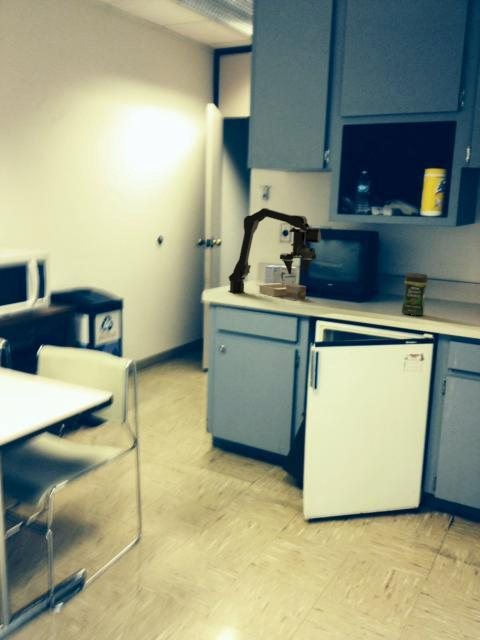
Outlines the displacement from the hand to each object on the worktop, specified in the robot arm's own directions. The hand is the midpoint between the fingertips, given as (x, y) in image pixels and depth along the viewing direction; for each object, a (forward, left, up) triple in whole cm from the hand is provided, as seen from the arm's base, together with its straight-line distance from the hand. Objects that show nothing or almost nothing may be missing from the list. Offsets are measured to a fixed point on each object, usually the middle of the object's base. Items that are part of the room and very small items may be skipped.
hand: (297, 273), depth 305 cm
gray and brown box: (0, 0, -12) cm, 12 cm away
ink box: (+19, +30, -13) cm, 38 cm away
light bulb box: (+20, +43, -13) cm, 49 cm away
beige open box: (+1, +16, -12) cm, 20 cm away
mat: (0, 0, -12) cm, 12 cm away
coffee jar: (+23, -54, -13) cm, 60 cm away
